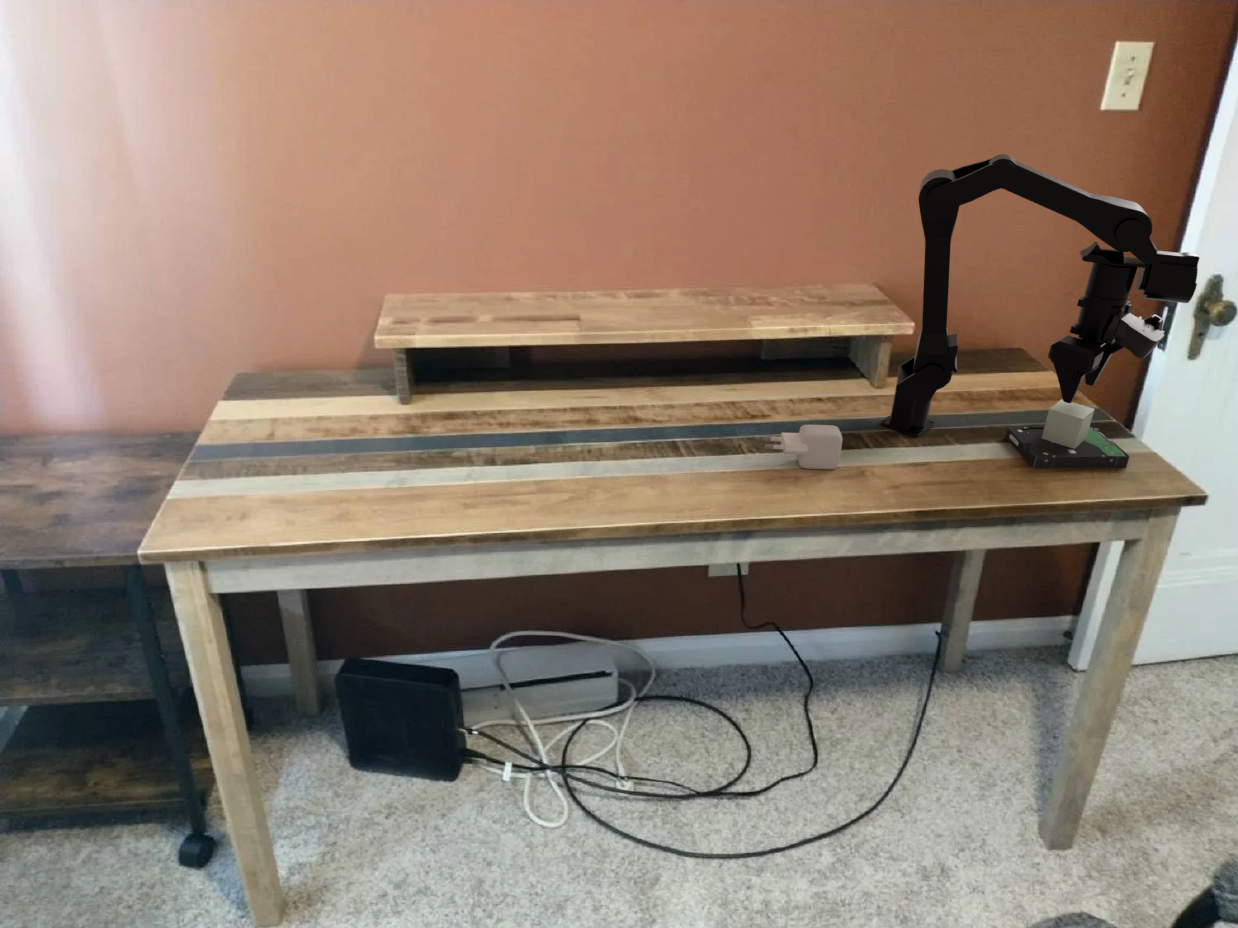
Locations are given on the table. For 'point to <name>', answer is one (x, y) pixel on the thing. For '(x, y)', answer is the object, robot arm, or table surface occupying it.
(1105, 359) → the robot arm
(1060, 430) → the sage block
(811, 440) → the power adapter
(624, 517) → the table surface
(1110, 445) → the disk drive
